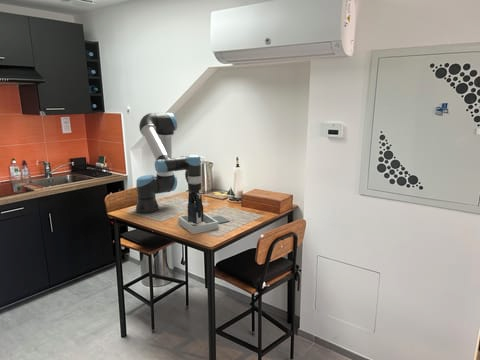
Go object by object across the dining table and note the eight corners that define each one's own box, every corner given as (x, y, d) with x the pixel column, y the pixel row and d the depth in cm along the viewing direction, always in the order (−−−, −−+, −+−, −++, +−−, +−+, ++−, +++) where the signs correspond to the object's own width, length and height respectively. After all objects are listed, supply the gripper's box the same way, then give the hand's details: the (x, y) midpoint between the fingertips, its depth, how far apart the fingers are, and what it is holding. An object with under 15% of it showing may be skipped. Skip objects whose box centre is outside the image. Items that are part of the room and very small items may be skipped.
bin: (178, 222, 209) (178, 216, 208) (202, 218, 217) (202, 211, 216) (192, 234, 191) (192, 227, 190) (218, 228, 198) (218, 221, 198)
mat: (206, 219, 215) (206, 218, 215) (220, 216, 220) (220, 215, 220) (214, 224, 205) (214, 223, 205) (229, 221, 210) (229, 220, 210)
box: (203, 221, 203) (203, 204, 200) (196, 224, 199) (195, 206, 196) (195, 218, 208) (194, 201, 205) (187, 221, 204) (187, 204, 201)
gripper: (181, 179, 205) (182, 215, 210) (196, 187, 187) (197, 227, 192) (193, 178, 209) (194, 213, 214) (208, 186, 190) (209, 224, 196)
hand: (195, 219), depth 203 cm, fingers closed on box, 9 cm apart
